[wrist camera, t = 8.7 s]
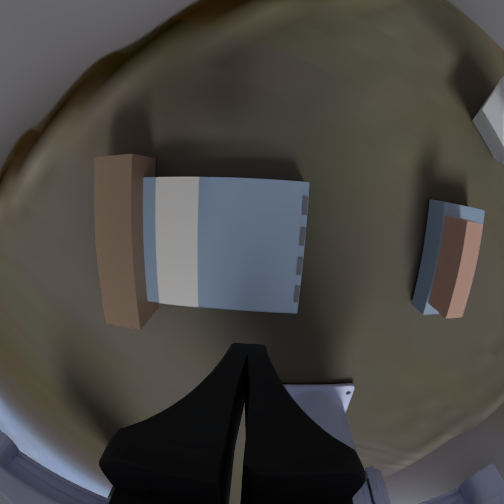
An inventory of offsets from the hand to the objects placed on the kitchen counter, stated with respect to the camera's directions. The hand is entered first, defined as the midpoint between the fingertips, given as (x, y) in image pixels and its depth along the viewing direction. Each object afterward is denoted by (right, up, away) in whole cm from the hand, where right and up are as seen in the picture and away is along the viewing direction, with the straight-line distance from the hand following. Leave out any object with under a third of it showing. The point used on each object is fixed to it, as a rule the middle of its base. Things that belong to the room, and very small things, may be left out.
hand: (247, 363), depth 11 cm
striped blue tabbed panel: (-3, +6, +9) cm, 11 cm away
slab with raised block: (+17, +4, +9) cm, 19 cm away
